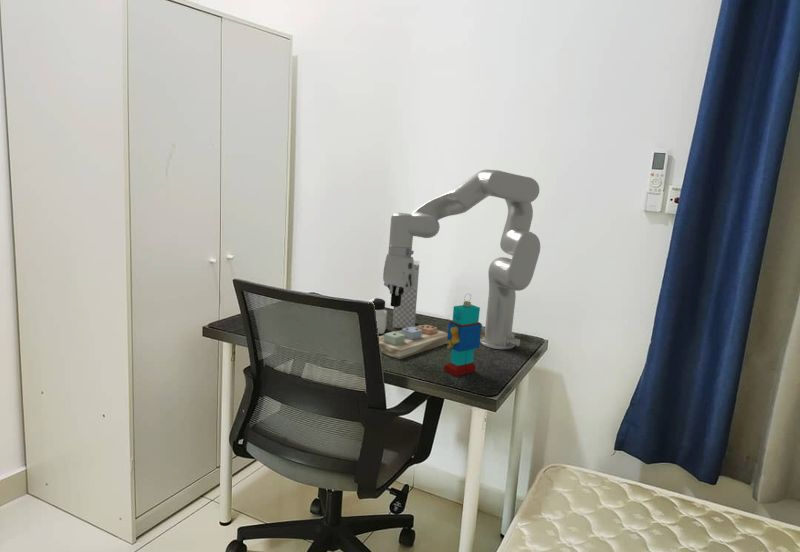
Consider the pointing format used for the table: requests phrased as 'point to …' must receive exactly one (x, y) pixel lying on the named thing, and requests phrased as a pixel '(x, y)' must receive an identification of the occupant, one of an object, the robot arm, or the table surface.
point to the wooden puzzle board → (413, 344)
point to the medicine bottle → (380, 314)
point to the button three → (428, 329)
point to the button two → (412, 333)
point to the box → (407, 305)
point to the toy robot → (463, 338)
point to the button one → (394, 338)
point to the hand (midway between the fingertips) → (395, 305)
